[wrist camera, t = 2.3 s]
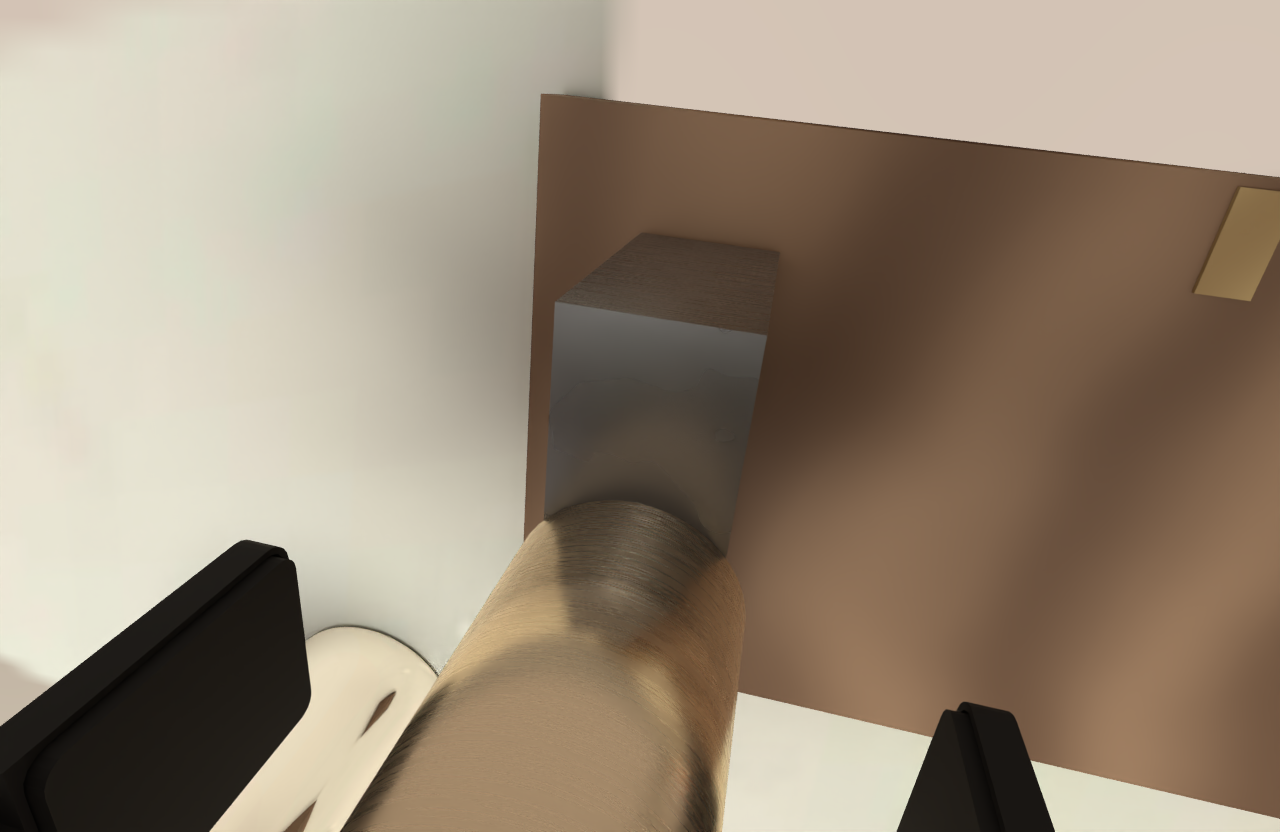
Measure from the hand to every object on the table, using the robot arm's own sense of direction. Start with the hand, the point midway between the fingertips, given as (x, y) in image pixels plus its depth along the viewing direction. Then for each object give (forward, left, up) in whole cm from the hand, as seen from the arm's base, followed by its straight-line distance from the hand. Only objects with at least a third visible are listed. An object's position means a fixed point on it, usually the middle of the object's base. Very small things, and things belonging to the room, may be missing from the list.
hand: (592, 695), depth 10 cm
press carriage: (0, 0, -8) cm, 8 cm away
